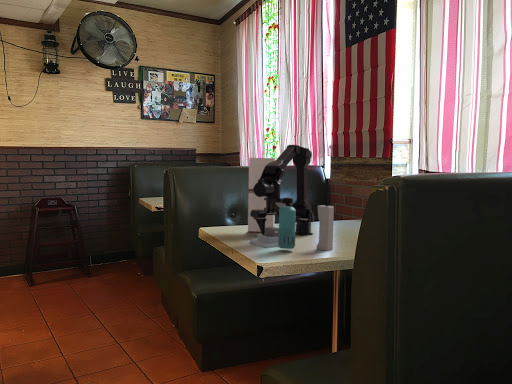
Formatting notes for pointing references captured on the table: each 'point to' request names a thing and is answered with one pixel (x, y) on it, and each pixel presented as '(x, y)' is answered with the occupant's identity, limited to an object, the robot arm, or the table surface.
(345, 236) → the table surface
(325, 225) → the vintage mobile phone
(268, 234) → the brick
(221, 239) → the table surface
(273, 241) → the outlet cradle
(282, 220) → the beverage bottle
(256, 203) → the white box wooden trim
